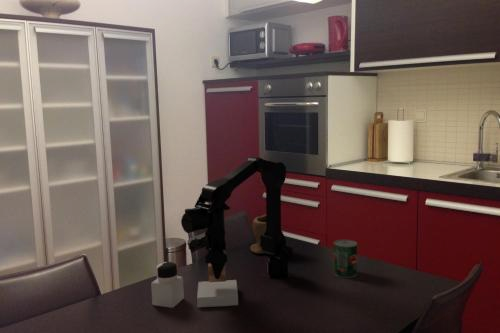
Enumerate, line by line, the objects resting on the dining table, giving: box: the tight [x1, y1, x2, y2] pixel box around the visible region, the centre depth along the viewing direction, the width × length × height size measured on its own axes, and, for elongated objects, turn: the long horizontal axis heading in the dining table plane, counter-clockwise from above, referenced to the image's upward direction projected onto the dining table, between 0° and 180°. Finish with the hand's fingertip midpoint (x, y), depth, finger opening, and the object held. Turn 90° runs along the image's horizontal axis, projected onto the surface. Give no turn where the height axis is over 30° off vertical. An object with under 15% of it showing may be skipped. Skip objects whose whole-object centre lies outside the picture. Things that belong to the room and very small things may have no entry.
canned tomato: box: [333, 239, 358, 279], centre depth 157 cm, size 8×8×11 cm
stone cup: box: [250, 213, 266, 254], centre depth 182 cm, size 15×12×15 cm
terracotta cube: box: [207, 263, 227, 282], centre depth 140 cm, size 5×5×5 cm
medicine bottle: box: [150, 261, 185, 309], centre depth 138 cm, size 7×7×12 cm
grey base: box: [196, 279, 239, 308], centre depth 140 cm, size 12×12×3 cm
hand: (217, 275), depth 140 cm, fingers closed on terracotta cube, 5 cm apart
